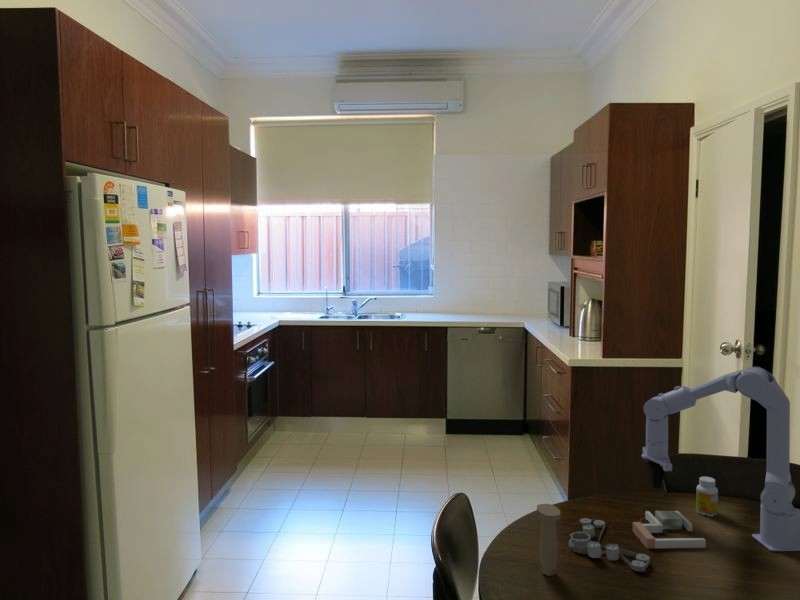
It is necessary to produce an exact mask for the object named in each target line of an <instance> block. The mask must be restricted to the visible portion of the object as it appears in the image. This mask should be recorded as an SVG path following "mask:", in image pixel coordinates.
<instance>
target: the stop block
mask: <svg viewBox="0 0 800 600" xmlns="http://www.w3.org/2000/svg"><path fill="white" fill-rule="evenodd" d="M642 524H643V523H642V522H641V521H632V532H633V534H635V536H636V537H637V539H638V540H639V539H640V540H639V541H640V542H641V543H642V545H643V546H644V547H645V548H646V549H656V548H655V539H656V537H655V536H653V534H652V533H650V532H649V531H648V530H647V529H646V528H645V527H644V526H643V525H642Z"/></svg>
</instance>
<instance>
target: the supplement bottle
mask: <svg viewBox="0 0 800 600" xmlns="http://www.w3.org/2000/svg"><path fill="white" fill-rule="evenodd" d="M698 483H699V484H697V486H696V493H695V494H696V496H695V511H696V512H697V513H698V514H699V513H700V514H699V515H701V514H702V515H701V516H704V515H707V516H706V517H715V516H714V515H716V516H718V512H719V511H718V509H719V489H718V487H716V479H715V478H713V477H710V476H700V477H699V480H698Z"/></svg>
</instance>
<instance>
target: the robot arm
mask: <svg viewBox="0 0 800 600" xmlns="http://www.w3.org/2000/svg"><path fill="white" fill-rule="evenodd" d="M724 391H726V392H729V393H733V394H736V393H738V392H739V393H740V394H741V395H743V396H744V397H747V398H748V399H752V400H753V401H756V402H757V403H758V404H759V405H761V406H762V407H763V408H764V409H766V473H765V480H764V489H763V491H761V492H760V497H759V499H760V518H759V519H760V522H759V533H753V534H751V537H752V538H754V539H755V540H756V541H757V542H759V543H760V544H761V545H762V546H763V547H765V548H766V549H768V551H770V552H800V509H799V508H796V507H795V506H794V505H793V504H792V502H793V500H794V499H795V497H796V489H795V486H794V484H793V482H792V476H791V473H790V458H791V457H790V453H791V452H790V450H791V449H790V446H791V445H790V444H791V443H790V442H791V441H790V438H791V437H790V436H791V435H790V434H791V431H790V430H791V426H790V425H791V424H790V423H791V403H790V399H789V397H788V396H787V395H786V393H785V392H784V390H783V389H782V387H781V386H780V385H779V384H778V382H777V380H776V378H775V376H774V375H773V374H772V373H770V372H769V371H768V370H766V369H765V368H762V367H760V366H751V367H748V368H746V369H745V370H744V369H740V370H736V371H732V372H730V373H726V374H723V375H721V376H718V377H716V378H714V379H712V380H709V381H707V382H705V383H702V384H700V385H697V386H694V387H692V388H691V387H689V386H688V387H687V386H680V385H677V386H675V387H673V390H671V391H667V392H665V393H663V392H661V393H658V394H657V396H654V397H651V398H650V399H649V400H646V402H645V403H644V405H643V413H644V415H645V416H646V417H645V418H646V421H645V446H642V454H641V458H642V459H644V460H643V463H644V465H645V468H646V469H647V472H648V476H649V480H650V484H651V487H652V488H653V489H661V488H662V486H663V482H664V479H665V476H666V474H667V472H673V464H672V463H671V461H670V456H669V415H673V414H675V413H678V412H682V411H685V410H687V409H690V408H693V407H695V406H696V403H697V400H700V399H703V398H705V397H706V398H707V397H709V396H712V395H715V394H718V393H721V392H724Z"/></svg>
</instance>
